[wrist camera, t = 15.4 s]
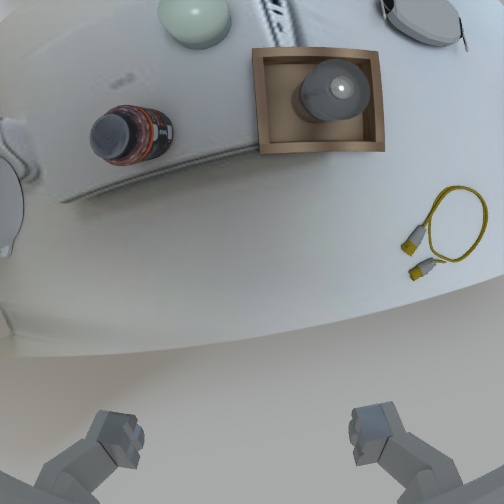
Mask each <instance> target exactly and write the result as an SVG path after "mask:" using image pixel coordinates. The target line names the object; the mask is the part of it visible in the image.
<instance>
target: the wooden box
mask: <svg viewBox="0 0 504 504" xmlns="http://www.w3.org/2000/svg"><path fill="white" fill-rule="evenodd" d="M329 59H342V60H346V61H349V62H351V63H353V64H354V65H356V66H357V67H358V68H359V69H360V70H361V71H362V72H363V73H364V74H365V76H366V78H367V80H368V82H369V86H370V99H369V103H368V105H367V107H366V108H365V110H364V111H363V112H362V113H361V114H359V115H358V116H356V117H354V118H351V119H346V120H338V121H329V122H322V123H309V122H306V121H304V120H302V119H301V118H300V117H299V116H298V115H297V114H296V113H295V111H294V110H293V107H292V102H291V99H292V94H293V92H294V90H295V88H296V87H297V86H298V85H299V84H300V83H301V82H302V81H303V80H304V79H305V78H306V76H307V75H308V74H309V73H310V72H311V71H312V70H313V69H314V68H315V67H316V66H317V65H318V64H320V63H321V62H324V61H326V60H329ZM252 62H253V74H254V86H255V98H256V111H257V124H258V137H259V150H260V154H273V153H293V152H326V151H376V152H385V131H384V111H383V96H382V83H381V73H380V64H379V55H378V51H369V50H358V49H345V48H327V47H271V48H252Z"/></svg>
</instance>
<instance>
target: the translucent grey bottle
mask: <svg viewBox="0 0 504 504" xmlns="http://www.w3.org/2000/svg"><path fill="white" fill-rule="evenodd" d="M369 99H370V86H369V82H368V80H367V78H366V76H365V74H364V73H363V72H362V71H361V70H360V69H359V68H358V67H357V66H356V65H354V64H353V63H351V62H349V61H346V60H342V59H329V60H326V61H324V62H321V63H320V64H318V65H317V66H316V67H315V68H314V69H313V70H312V71H311V72H310V73H309V74H308V75H307V76H306V78H305V79H304V80H303V81H302V82H301V83H300V84H299V85H298V86H297V87H296V88H295V90H294V92H293V94H292V99H291V102H292V107H293V110H294V111H295V113H296V114H297V115H298V116H299V117H300V118H301V119H302V120H304V121H306V122H309V123H322V122H329V121H338V120H346V119H351V118H354V117H356V116H358V115H359V114H361V113H362V112H363V111H364V110H365V108H366V107H367V105H368V103H369Z"/></svg>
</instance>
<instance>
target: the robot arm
mask: <svg viewBox="0 0 504 504" xmlns="http://www.w3.org/2000/svg"><path fill="white" fill-rule="evenodd" d="M22 217H23V198H22V192H21V188H20V184H19V181H18V179H17V176H16V174H15V172H14V170H13V169H12V167H11V166H10V165H9V163H8V162H7V161H5V160H4V159H3V158H1V157H0V257H3V258H6V257H8V256H10V255H11V252H12V245H13V240H14V238H15V237H16V235H17V234H18V232H19V229H20V227H21V223H22ZM352 418H353V419H352V420H351V421H350V423H349V438H350V443H351V444H352V445H353V446H355V448H354V451H353V455H354V459H355V463H356V466H360V465H366V464H370V463H376V462H378V464H379V465H380V466H381V467H382V468H383V469H385V470H386V471H387V472H388V473H389V474H390V475H391V476H392V477H393V478H394V479H396V480H397V481H398V482H399V483H400V484H401V485H402V486H404V487H405V488H406V490H405V491H404V493H403V494H402V495H401V496H400V498H399V499H398V500H397V503H398V504H504V465H503V466H501V467H499V468H497V469H495V470H493V471H491V472H489V473H487V474H485V475H483V476H481V477H480V478H477V479H475V480H473V481H471V482H469V483H467V484H464V485H463V482H462V480H461V477H460V475H459V473H458V471H457V468H456V466H455V464H454V461H453V459H451V458H449V457H448V456H446V455H444V454H443V453H441V452H440V451H438V450H436V449H435V448H433V447H432V446H430V445H429V444H427V443H426V442H424V441H422V440H421V439H419V438H418V437H416V436H415V435H413V434H412V433H410V432H408V433H406V431H405V429H404V427H403V424H402V422H401V419H400V417H399V414H398V412H397V410H396V407H395V405H394V403H393V402H392V401H390V402H385V403H381V404H374V405H369V406H364V407H359V408H354V409H353V410H352ZM143 445H144V431H143V429H142V427H141V426H139V425H138V424H137V418H136V416H135V415H131V414H124V413H118V412H111V411H105V410H99V411H98V412H97V414H96V416H95V418H94V420H93V423H92V425H91V427H90V429H89V431H88V433H87V436H86V438H85V439H81V440H79V441H78V442H76V443H75V444H73V445H72V446H71V447H69V448H68V449H66V450H65V451H63V452H62V453H60V454H59V455H57V456H56V457H54V458H53V459H51V460H50V461H48V462H47V463H45V464H44V465H43V468H42V470H41V472H40V474H39V476H38V478H37V481H36V483H35V485H34V487H33V486H31V485H29V484H27V483H24V482H22V481H20V480H18V479H16V478H14V477H12V476H10V475H8V474H6V473H4V472H2V471H0V504H100V503H99V501H98V500H97V499H96V498H95V497H94V496H93V495H92V494H91V493H92V492H93V491H94V490H95V489H96V488H97V487H98V486H99V485H100V484H101V483H102V482H103V481H104V480H105V479H106V478H107V477H109V475H110V474H112V473H113V472H114V471H115V470H116V469H117V468H118V467H117V466H119V467H125V468H131V469H137V466H138V462H139V459H140V455H139V453H138V451H139V450H141V449H142V448H143Z"/></svg>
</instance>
